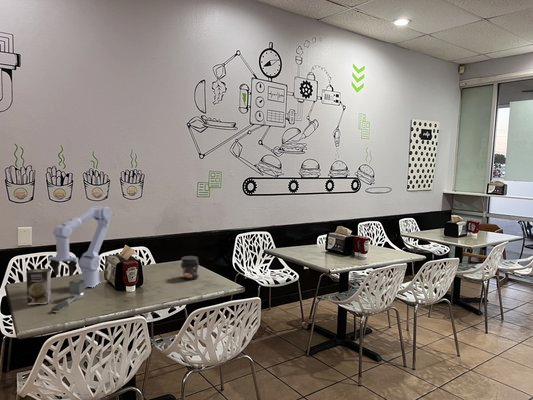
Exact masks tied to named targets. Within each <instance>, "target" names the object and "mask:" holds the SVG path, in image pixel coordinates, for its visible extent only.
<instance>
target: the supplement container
mask: <svg viewBox="0 0 533 400" xmlns="http://www.w3.org/2000/svg"><path fill="white" fill-rule="evenodd" d="M180 260H181V262H180V278H181V279H182V280H186V281H193V280H197V279H198V278H199V277H200V275H199V272H200V271H199V265H200V263H199V257H198V256H195V255H186V256H183V257H181V258H180Z"/></svg>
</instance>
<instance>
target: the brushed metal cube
mask: <svg viewBox="0 0 533 400" xmlns="http://www.w3.org/2000/svg"><path fill="white" fill-rule="evenodd" d="M68 286H69V295H71V294H72V295H80V294H82V293H83V292H84V293H85V291H86V290H85V289H86V288H85V286H84V280H82V279H73V280H72V281H70V282H69V285H68Z"/></svg>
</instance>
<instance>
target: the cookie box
mask: <svg viewBox="0 0 533 400" xmlns="http://www.w3.org/2000/svg"><path fill="white" fill-rule="evenodd" d="M25 274H26V275H25V276H26V295H27V296H26V297H27V298H26V299H27V303H44V302H49V300H50V299H51V300H52V291H51V268H35V269H33V268H31V269H29V270H27V271H26V272H25ZM49 303H50V302H49Z"/></svg>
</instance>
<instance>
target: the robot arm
mask: <svg viewBox="0 0 533 400" xmlns="http://www.w3.org/2000/svg"><path fill="white" fill-rule="evenodd" d="M112 215H113V212H112V210H111V208H110V207H108V206H99V205H94V206H92V207H90V208H89V210H87V211H85V212H84V213H83V214H81V215H80V216H79V217H70V218H69V220H67V221H65V222H63V223H62V224H58V225H57V226H56V227H54V230H53V231H52V234H53V235H54V237H55V240H56V243H55V244H56V245H55V246H56V247H55V248H56V256H49V257H48V259H47V261H48V262H49V265H50V267H51V269H52V271H53V273H54V276H55V277H56V276H58V275H59V274H60V272H59V271H60V270H59V267H60V266H59V265H60V262H67V267H68V276H69V277H72V276H73V275H74V272H75V268H76V266H77V264H78V268H80V271H81V280H84V286H85V287H92V288H91V289H94V288H96V287H97V286H99V285H100V284H101V282H102V281H100V271H99V269H98V268H99V267H100V260H101V257H100V255H99V252H100V250H101V246H102V245H103V242H104V240H105V236H106V234H107V232H108V229H109V226H110V223H111V221H110V220H111V217H112ZM92 218H93V219H94V220H95V221H96V222H97V226H96V229H95V231H94V233H93V234H94V235H93V237H92V239H91V242H90V244H89V246H88V249H87V251H86V252H84V253H82V255H81V257H80V259H79V257H74V256H70V236H71V235H72V233H73V232H74V231H76V230H77V229H79V228H81V227H82V224H84V223H85V222H87V221H88V220H90V219H92ZM99 283H100V284H99ZM98 284H99V285H98ZM96 285H97V286H96ZM95 286H96V287H95ZM93 287H94V288H93Z"/></svg>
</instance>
